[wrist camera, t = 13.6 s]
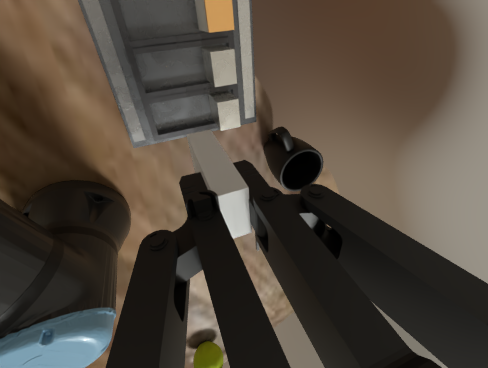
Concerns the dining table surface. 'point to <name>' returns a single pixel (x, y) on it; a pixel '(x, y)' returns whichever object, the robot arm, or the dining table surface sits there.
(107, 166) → the dining table surface
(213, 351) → the fruit
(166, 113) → the panel
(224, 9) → the block
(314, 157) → the mug
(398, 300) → the robot arm
